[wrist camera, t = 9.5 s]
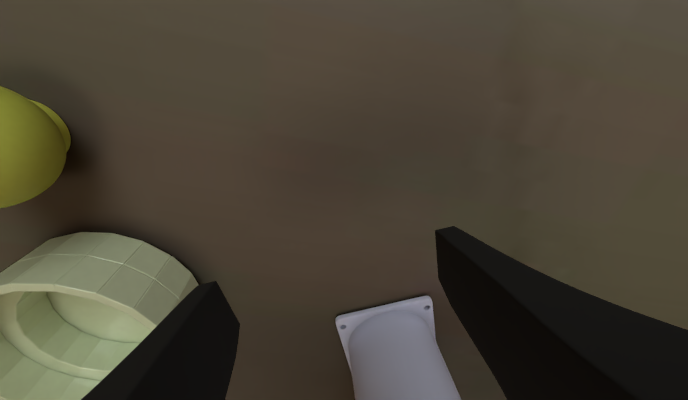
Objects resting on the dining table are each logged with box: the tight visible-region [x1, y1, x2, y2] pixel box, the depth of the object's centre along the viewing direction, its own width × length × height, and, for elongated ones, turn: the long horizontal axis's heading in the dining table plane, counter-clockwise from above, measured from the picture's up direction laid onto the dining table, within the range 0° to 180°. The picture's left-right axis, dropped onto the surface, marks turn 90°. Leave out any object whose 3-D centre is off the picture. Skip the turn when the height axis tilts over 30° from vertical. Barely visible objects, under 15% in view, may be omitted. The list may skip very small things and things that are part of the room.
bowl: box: [0, 232, 199, 400], centre depth 18 cm, size 11×11×5 cm
